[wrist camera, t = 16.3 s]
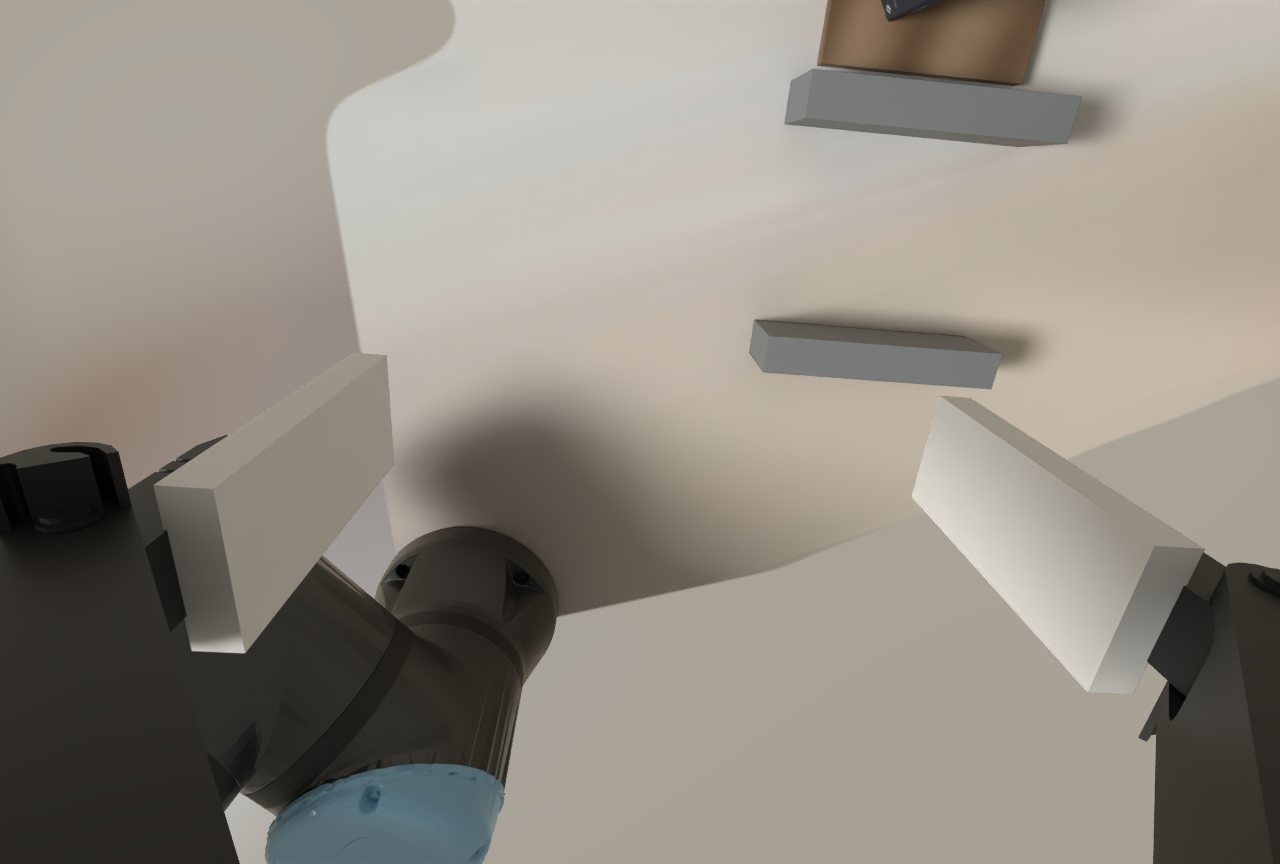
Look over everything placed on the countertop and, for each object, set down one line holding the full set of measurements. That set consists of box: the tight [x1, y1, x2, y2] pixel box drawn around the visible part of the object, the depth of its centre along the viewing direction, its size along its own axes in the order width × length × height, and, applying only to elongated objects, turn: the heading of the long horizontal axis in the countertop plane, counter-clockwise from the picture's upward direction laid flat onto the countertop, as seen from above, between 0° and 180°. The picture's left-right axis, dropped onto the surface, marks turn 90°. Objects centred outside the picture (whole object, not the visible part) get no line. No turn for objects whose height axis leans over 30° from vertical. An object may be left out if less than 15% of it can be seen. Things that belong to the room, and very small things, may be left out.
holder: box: [749, 69, 1082, 389], centre depth 42 cm, size 16×18×5 cm
